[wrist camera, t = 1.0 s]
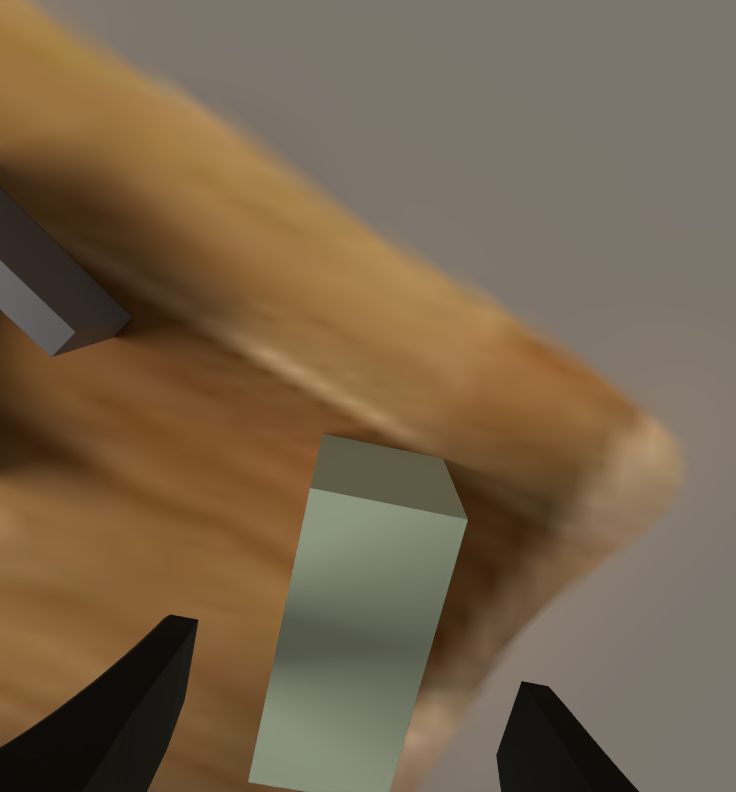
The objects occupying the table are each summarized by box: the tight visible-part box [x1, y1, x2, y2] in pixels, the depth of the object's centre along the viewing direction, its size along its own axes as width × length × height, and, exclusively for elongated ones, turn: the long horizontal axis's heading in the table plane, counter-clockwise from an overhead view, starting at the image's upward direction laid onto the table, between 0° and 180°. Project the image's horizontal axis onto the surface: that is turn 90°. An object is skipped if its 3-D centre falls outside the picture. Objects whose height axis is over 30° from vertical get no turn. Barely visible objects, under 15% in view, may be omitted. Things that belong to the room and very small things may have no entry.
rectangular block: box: [248, 434, 468, 792], centre depth 15 cm, size 8×4×4 cm, turn 167°
